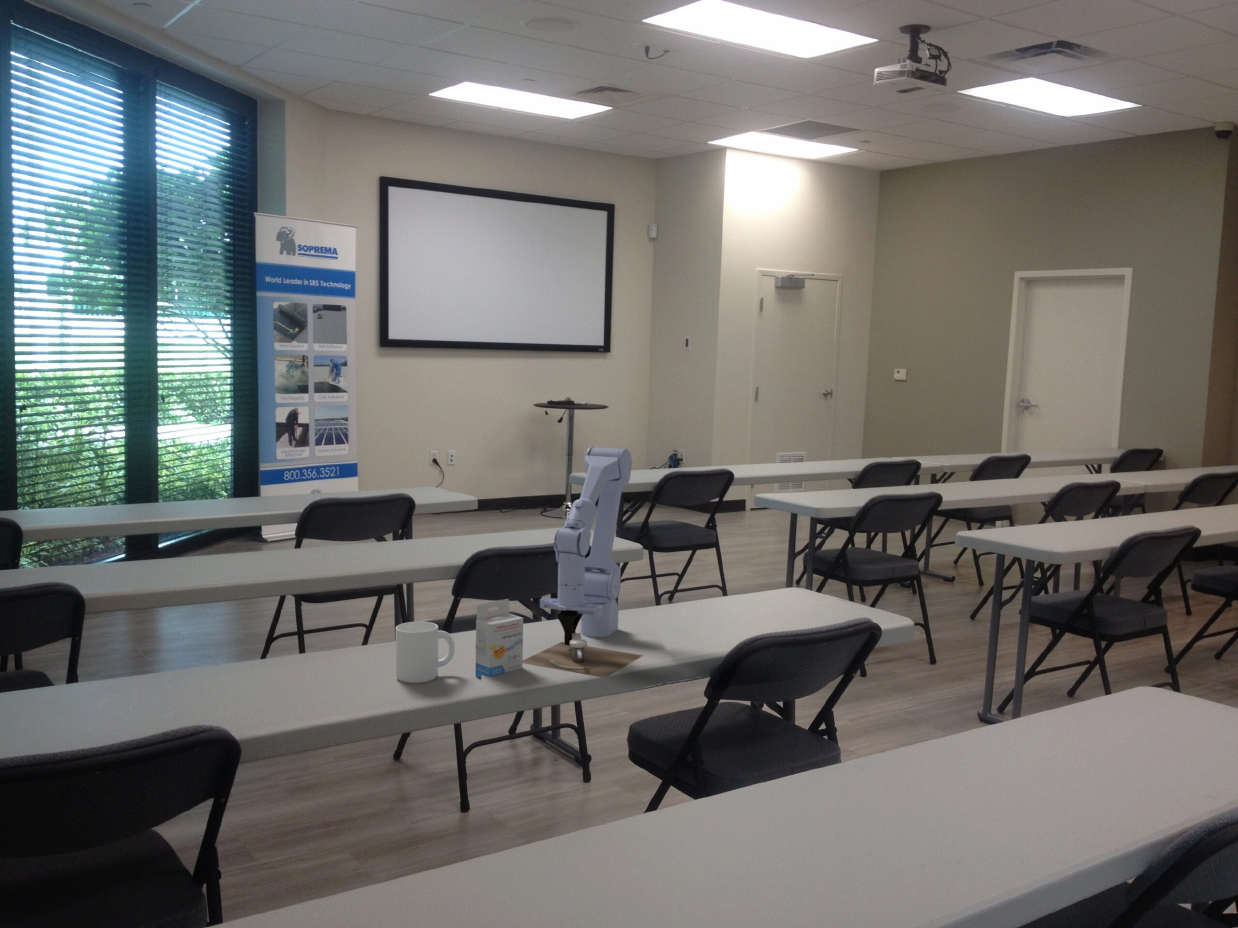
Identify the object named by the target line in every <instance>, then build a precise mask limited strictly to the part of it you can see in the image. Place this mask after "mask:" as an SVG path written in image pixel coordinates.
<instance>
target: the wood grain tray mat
mask: <svg viewBox="0 0 1238 928" xmlns="http://www.w3.org/2000/svg"><path fill="white" fill-rule="evenodd" d="M643 656H644V655H643V654H639V653H638V654H636V653H632V652H625V651H620V650H613V649H607V648H603V647H601V648H600V647H595V646H590V645H587V646H586V647H585V654H584V661H583V662H573V661H572V647H571V646H568V645H565V641H560V642H558V643H556V644H554V645H552V646H550V647H547V648H546V649H544V650H542V651H540V652H538V653H536V654H533V655H531V656H529V657H527V658H525V659H523V660H522V664H526V665H532V666H538V667H542V668H549V669H553V670H559V671H565V672H571V673H576V674H582V675H587V676H591V677H598V678H604V679H606V678H608V677H609V676H611V675H613V674H614V673H616V672H618V671H620V670H621V669H623V668H624V667H626V666H628V665H629V664H631V663H633V662H634V661H635V662H636V660H638V659H640V658H642V657H643Z"/></svg>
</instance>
